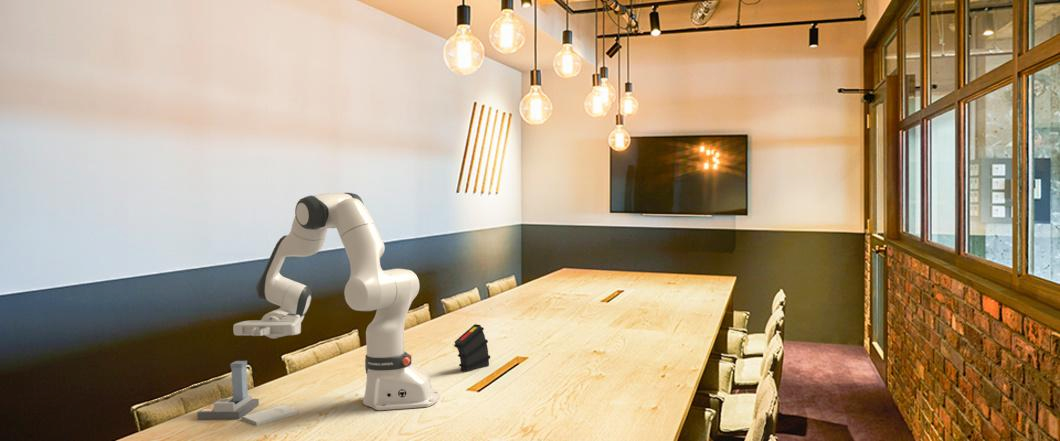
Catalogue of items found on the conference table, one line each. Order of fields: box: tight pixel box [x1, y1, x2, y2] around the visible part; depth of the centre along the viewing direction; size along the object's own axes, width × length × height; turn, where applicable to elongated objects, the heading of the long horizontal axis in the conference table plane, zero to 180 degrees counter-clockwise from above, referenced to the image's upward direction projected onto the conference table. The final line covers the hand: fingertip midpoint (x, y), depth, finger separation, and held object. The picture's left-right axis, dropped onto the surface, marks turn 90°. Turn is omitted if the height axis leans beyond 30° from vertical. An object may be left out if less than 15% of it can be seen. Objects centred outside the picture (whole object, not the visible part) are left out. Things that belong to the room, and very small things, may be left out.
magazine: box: [453, 323, 491, 373], centre depth 234 cm, size 4×13×15 cm, turn 136°
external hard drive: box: [241, 404, 299, 427], centre depth 189 cm, size 2×8×12 cm
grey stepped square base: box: [196, 395, 260, 420], centre depth 193 cm, size 12×12×4 cm
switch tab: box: [229, 360, 249, 402], centre depth 197 cm, size 3×3×11 cm
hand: (256, 333), depth 209 cm, fingers closed
